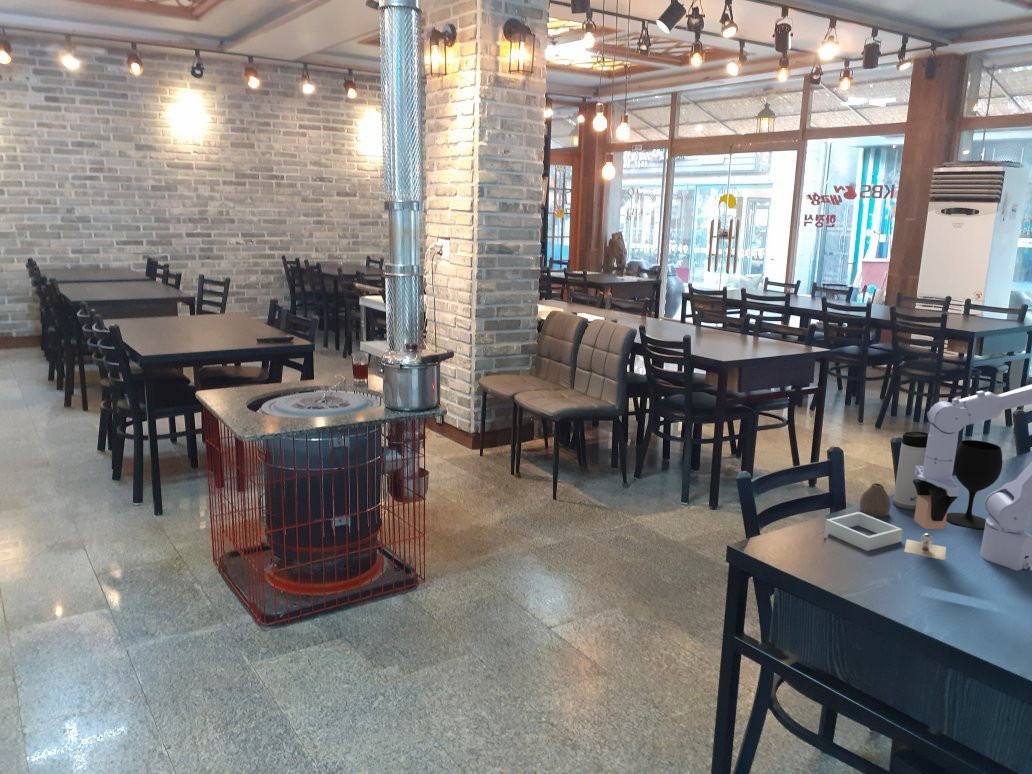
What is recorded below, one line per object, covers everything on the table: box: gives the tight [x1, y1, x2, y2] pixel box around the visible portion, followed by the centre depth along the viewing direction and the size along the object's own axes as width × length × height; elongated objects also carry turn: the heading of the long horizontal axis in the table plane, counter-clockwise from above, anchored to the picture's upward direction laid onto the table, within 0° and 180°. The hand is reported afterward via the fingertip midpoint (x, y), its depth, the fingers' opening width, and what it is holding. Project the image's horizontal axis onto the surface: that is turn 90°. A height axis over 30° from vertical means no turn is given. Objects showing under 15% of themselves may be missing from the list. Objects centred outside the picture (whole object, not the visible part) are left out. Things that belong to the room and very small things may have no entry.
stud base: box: [904, 533, 947, 561], centre depth 177 cm, size 8×8×5 cm
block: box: [913, 495, 949, 530], centre depth 176 cm, size 4×4×6 cm
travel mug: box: [892, 431, 929, 510], centre depth 206 cm, size 6×7×20 cm
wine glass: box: [946, 439, 1003, 531], centre depth 196 cm, size 10×10×20 cm
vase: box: [859, 482, 891, 518], centre depth 198 cm, size 7×7×9 cm
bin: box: [823, 511, 903, 552], centre depth 183 cm, size 12×12×4 cm
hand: (930, 516), depth 176 cm, fingers closed on block, 4 cm apart
